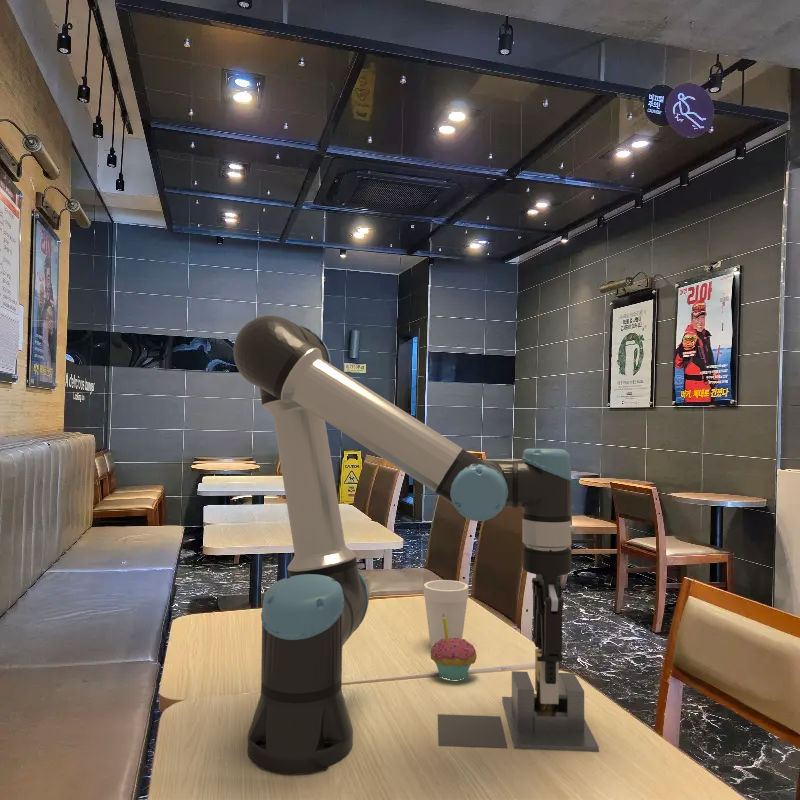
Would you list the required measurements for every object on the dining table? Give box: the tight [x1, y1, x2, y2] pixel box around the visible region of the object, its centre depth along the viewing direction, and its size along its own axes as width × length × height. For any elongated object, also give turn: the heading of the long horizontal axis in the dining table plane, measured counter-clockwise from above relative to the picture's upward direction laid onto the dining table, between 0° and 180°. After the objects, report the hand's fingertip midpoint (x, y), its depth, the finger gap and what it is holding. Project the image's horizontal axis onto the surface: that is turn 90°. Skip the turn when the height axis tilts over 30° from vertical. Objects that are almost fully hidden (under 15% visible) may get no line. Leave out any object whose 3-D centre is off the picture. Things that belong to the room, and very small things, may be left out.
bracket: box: [501, 670, 600, 753], centre depth 99 cm, size 12×16×7 cm
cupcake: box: [430, 614, 477, 680], centre depth 118 cm, size 9×8×12 cm
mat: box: [437, 713, 509, 749], centre depth 96 cm, size 10×10×1 cm
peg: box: [535, 651, 556, 712], centre depth 99 cm, size 3×3×10 cm
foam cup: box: [423, 579, 470, 648], centre depth 134 cm, size 10×9×13 cm
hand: (546, 696), depth 99 cm, fingers open, 4 cm apart
